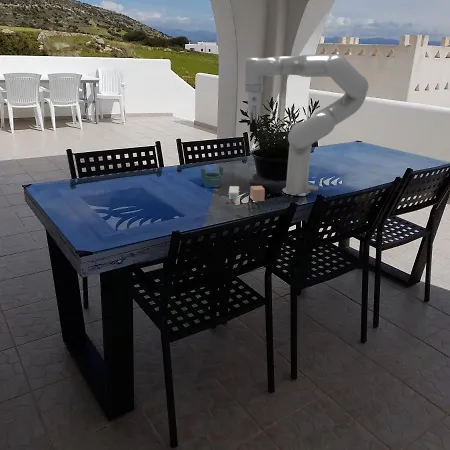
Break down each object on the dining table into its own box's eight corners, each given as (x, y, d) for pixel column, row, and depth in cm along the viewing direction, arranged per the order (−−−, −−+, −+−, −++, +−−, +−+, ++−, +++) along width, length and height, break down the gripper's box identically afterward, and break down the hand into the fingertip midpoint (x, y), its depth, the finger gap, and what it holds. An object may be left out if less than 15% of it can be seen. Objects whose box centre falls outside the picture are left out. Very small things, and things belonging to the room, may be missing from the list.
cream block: (238, 186, 192) (238, 192, 183) (238, 195, 193) (237, 201, 185) (229, 186, 192) (228, 192, 184) (229, 194, 194) (228, 201, 185)
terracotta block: (260, 198, 190) (261, 185, 188) (264, 202, 186) (264, 189, 183) (249, 199, 189) (250, 186, 187) (252, 203, 185) (253, 189, 183)
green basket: (199, 186, 205) (199, 167, 202) (209, 181, 213) (209, 163, 209) (216, 189, 202) (216, 170, 198) (225, 184, 209) (225, 166, 206)
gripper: (263, 89, 179) (262, 134, 186) (261, 86, 193) (260, 128, 200) (245, 90, 179) (245, 134, 186) (244, 87, 193) (244, 128, 200)
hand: (253, 131), depth 193 cm, fingers closed
